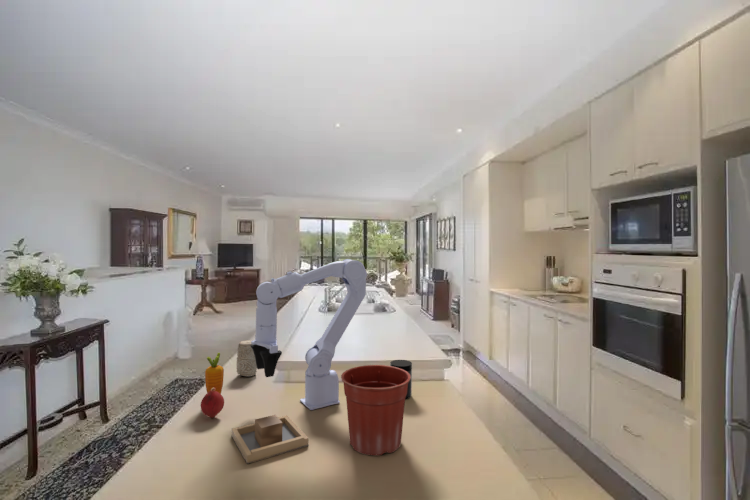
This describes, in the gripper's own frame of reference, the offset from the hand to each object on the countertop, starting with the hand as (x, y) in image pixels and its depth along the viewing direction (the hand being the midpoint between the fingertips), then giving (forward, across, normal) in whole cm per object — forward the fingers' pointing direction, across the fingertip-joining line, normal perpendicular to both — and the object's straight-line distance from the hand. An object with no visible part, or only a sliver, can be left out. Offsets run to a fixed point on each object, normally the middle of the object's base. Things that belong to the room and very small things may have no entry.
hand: (265, 372), depth 109 cm
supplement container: (+10, +13, +38) cm, 42 cm away
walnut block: (+10, +18, -5) cm, 21 cm away
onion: (+11, -2, -14) cm, 17 cm away
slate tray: (+10, +18, -4) cm, 21 cm away
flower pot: (+10, +32, +16) cm, 38 cm away
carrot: (+11, -10, -12) cm, 19 cm away
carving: (+11, -31, +4) cm, 33 cm away
